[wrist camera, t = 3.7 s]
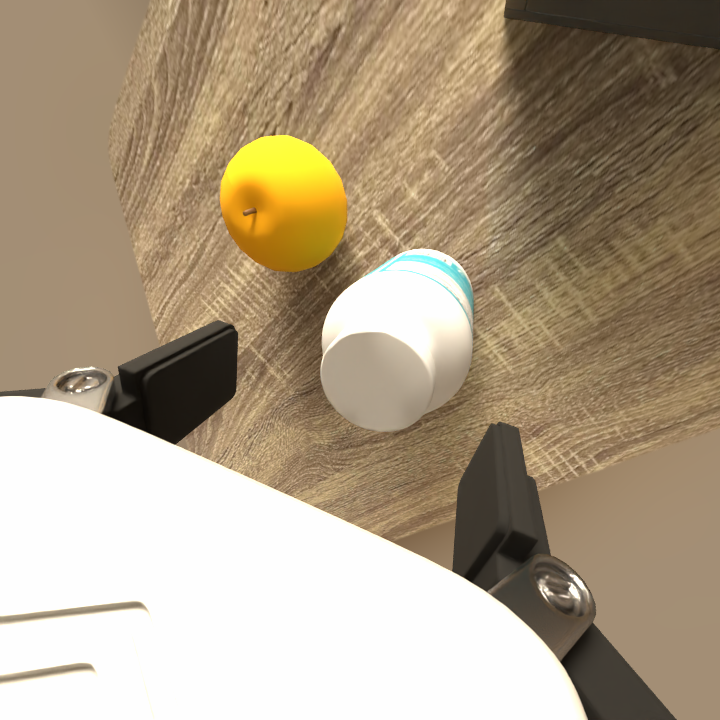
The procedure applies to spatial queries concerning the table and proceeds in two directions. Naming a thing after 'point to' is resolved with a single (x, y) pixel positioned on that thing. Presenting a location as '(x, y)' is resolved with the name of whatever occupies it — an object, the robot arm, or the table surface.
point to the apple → (283, 203)
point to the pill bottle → (399, 341)
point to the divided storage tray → (629, 18)
